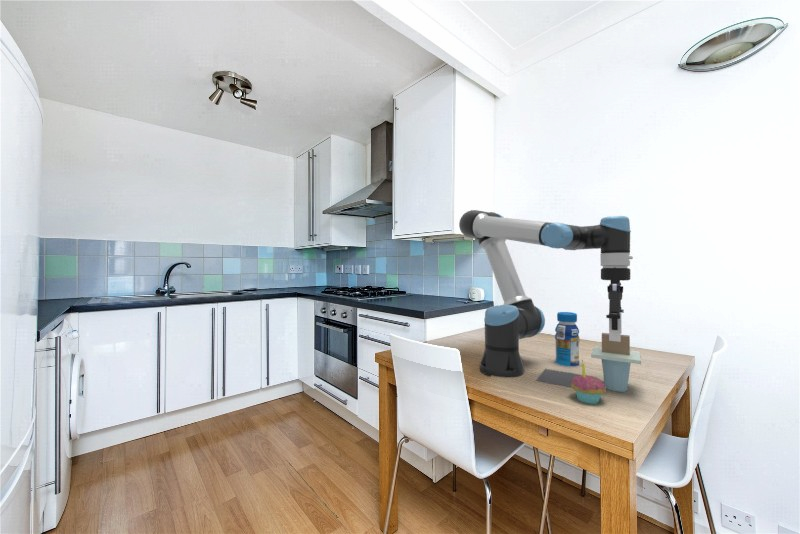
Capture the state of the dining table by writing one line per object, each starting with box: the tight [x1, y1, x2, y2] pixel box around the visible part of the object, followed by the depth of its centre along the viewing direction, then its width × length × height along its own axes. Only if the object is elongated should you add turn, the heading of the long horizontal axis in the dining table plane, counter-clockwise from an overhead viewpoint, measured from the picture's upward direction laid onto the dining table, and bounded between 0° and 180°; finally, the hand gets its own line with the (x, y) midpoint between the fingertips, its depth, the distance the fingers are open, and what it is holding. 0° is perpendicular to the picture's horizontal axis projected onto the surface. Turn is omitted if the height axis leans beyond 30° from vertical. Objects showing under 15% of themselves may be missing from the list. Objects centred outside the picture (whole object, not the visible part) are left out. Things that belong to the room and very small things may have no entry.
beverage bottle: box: [554, 311, 581, 368], centre depth 122 cm, size 8×8×20 cm
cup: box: [600, 359, 632, 393], centre depth 97 cm, size 8×8×10 cm
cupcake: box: [571, 359, 607, 405], centre depth 89 cm, size 9×8×12 cm
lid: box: [590, 332, 642, 365], centre depth 97 cm, size 12×12×6 cm
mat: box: [535, 368, 580, 389], centre depth 105 cm, size 15×15×1 cm
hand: (615, 336), depth 97 cm, fingers open, 13 cm apart
